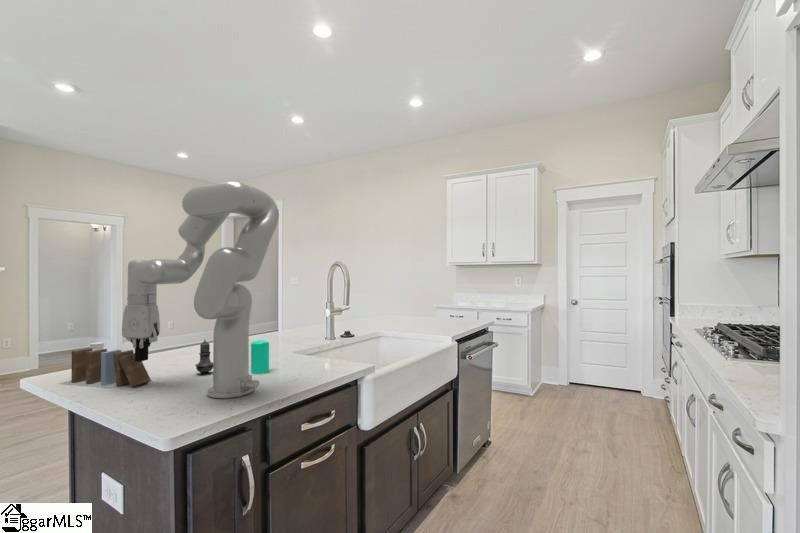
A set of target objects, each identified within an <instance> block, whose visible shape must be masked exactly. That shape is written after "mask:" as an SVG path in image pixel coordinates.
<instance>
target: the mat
mask: <svg viewBox="0 0 800 533" xmlns="http://www.w3.org/2000/svg"><path fill="white" fill-rule="evenodd" d="M57 384H58V385H67V386H76V387H77V386H78V387H79V386H80V387H90V388H97V389H98V388H99V389H100V388H101V389H102V388H103V389H111V390H123V391H132V392H133V391H136V392H142V391H144V390H147V389H151V388H154V387H157V386H160V385H163V384H164V382H161V381H150V382H148V383H147V384H143V385H140V386H137V387H134V388H132V387H131V385H130V384H127V385H124V386H118V387H116V383H113V384H110V385H106V386H103V385H101V382H97V383H94V384H86V381H82V382H78V383H71V380H70V379H69V380H67V381H64V382H59V383H57Z"/></svg>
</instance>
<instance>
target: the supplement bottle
mask: <svg viewBox="0 0 800 533" xmlns="http://www.w3.org/2000/svg"><path fill="white" fill-rule="evenodd" d="M89 348H93V350H98V349H107V348H106V347H105V343H104V342H103V341H101V342H100V341H97V342H92V343H91V342H90V343H89Z"/></svg>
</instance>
